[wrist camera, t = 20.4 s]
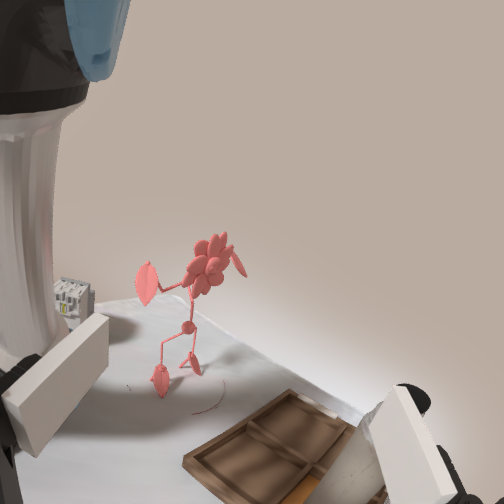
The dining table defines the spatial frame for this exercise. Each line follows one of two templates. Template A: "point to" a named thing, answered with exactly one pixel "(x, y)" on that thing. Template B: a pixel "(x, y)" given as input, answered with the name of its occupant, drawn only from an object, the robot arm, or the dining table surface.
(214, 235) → the figurine
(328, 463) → the wooden compartment tray
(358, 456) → the thermos bottle
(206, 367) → the dining table surface
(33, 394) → the robot arm
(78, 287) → the circuit breaker
